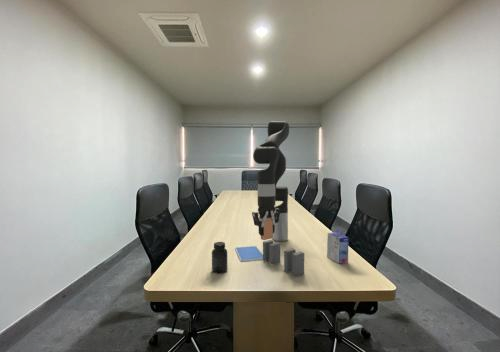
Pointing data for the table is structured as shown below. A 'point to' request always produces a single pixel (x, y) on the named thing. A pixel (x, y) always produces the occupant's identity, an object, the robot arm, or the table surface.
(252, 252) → the blue flat board
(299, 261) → the domino
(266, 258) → the domino
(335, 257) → the ink cartridge box
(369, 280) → the table surface
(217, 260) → the supplement bottle
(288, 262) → the domino
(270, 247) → the domino
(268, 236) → the domino
